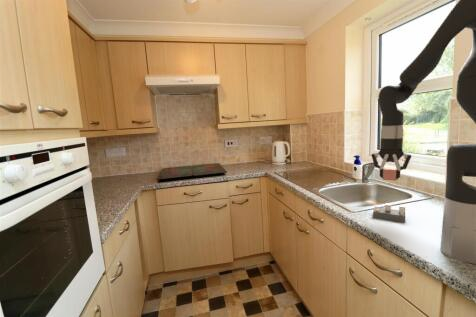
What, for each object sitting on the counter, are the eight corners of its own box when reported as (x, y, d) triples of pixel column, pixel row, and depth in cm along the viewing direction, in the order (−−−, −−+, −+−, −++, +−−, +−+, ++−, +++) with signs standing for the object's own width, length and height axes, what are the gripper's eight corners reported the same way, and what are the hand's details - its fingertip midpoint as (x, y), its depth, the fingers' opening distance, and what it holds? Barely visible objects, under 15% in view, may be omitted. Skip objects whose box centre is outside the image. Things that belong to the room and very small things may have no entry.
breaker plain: (405, 213, 94) (405, 207, 94) (399, 212, 95) (399, 206, 95) (404, 211, 96) (405, 205, 95) (399, 210, 97) (399, 204, 97)
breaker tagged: (390, 211, 97) (390, 205, 97) (385, 210, 98) (385, 204, 98) (390, 209, 99) (391, 203, 98) (385, 208, 100) (385, 203, 99)
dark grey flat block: (404, 222, 93) (405, 214, 92) (373, 217, 99) (373, 209, 98) (404, 216, 97) (405, 209, 97) (374, 212, 104) (374, 205, 103)
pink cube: (395, 180, 93) (396, 170, 93) (382, 179, 96) (383, 169, 95) (396, 178, 97) (396, 167, 96) (383, 177, 99) (384, 167, 99)
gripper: (370, 137, 95) (368, 179, 97) (414, 137, 87) (411, 182, 89) (372, 136, 101) (370, 175, 103) (413, 136, 93) (410, 178, 95)
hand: (389, 178), depth 96 cm, fingers closed on pink cube, 4 cm apart
